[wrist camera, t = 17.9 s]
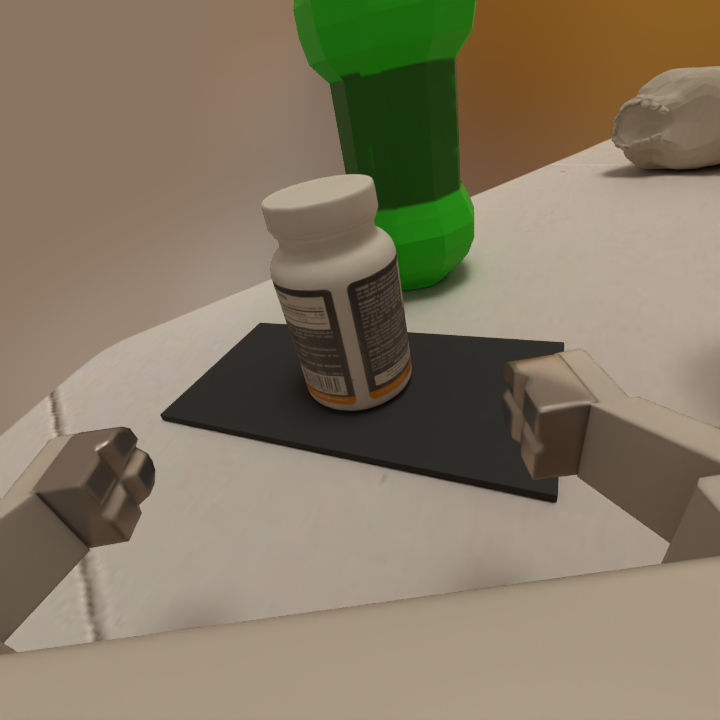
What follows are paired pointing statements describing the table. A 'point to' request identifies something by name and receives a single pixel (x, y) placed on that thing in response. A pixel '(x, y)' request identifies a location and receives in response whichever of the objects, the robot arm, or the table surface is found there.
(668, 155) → the white lumpy rounded piece
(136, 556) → the table surface
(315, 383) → the pill bottle
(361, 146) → the plastic bottle
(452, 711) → the robot arm
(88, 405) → the table surface
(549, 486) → the slate mat
